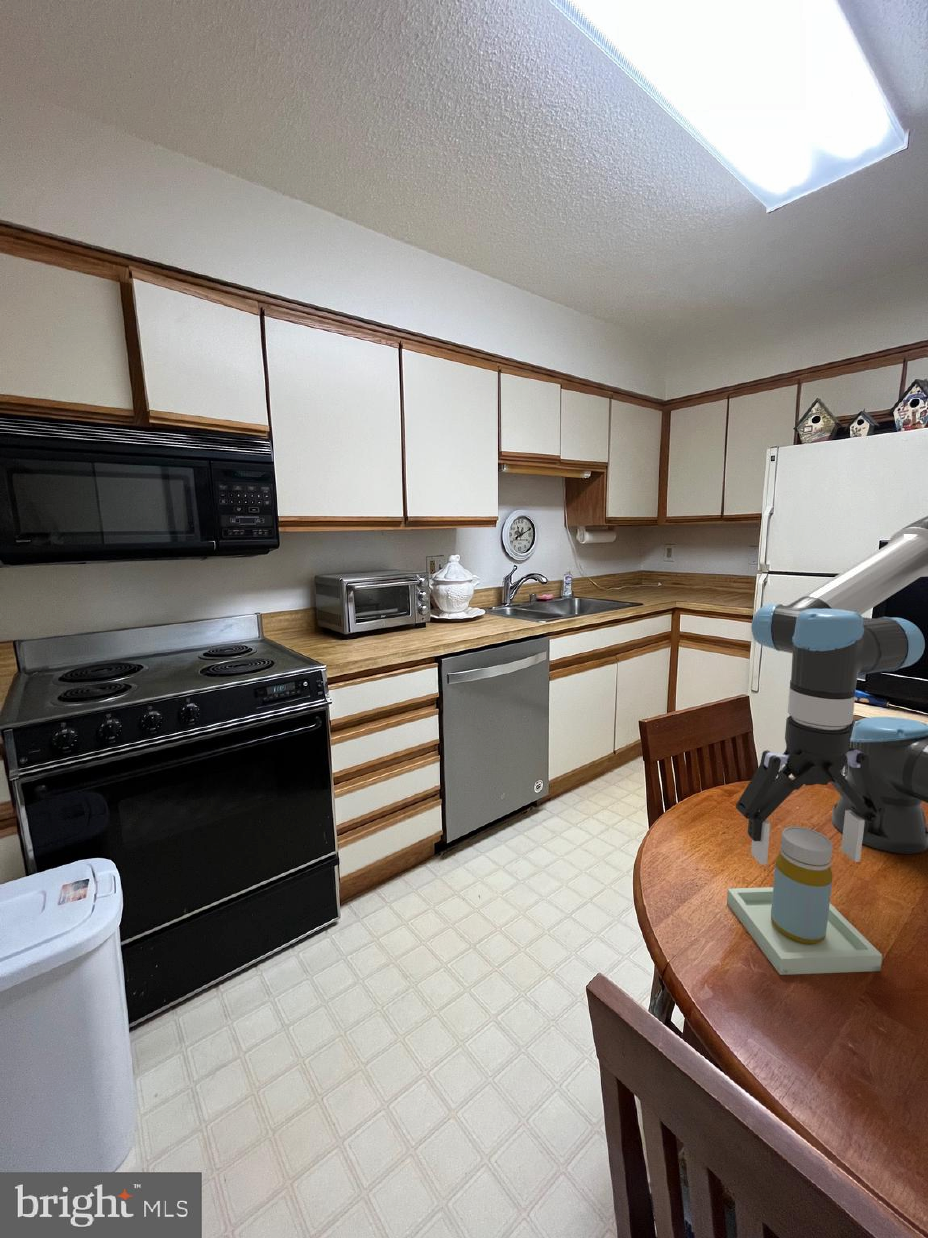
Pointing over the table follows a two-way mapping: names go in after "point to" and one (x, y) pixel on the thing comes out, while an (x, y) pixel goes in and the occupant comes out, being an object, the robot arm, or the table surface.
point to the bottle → (802, 885)
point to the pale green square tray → (790, 957)
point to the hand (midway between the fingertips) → (804, 857)
